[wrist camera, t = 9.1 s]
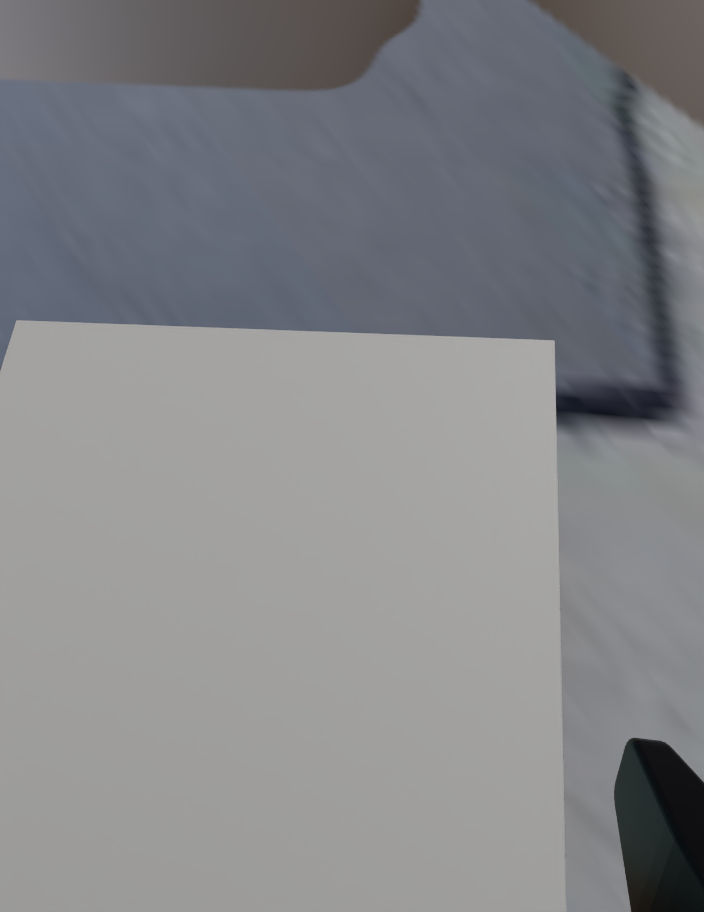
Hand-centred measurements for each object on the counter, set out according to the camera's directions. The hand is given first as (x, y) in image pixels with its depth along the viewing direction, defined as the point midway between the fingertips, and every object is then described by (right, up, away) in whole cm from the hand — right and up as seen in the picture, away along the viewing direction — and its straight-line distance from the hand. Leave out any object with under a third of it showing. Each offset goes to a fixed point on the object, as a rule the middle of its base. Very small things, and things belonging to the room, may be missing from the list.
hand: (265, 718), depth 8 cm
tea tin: (+1, -2, +9) cm, 10 cm away
